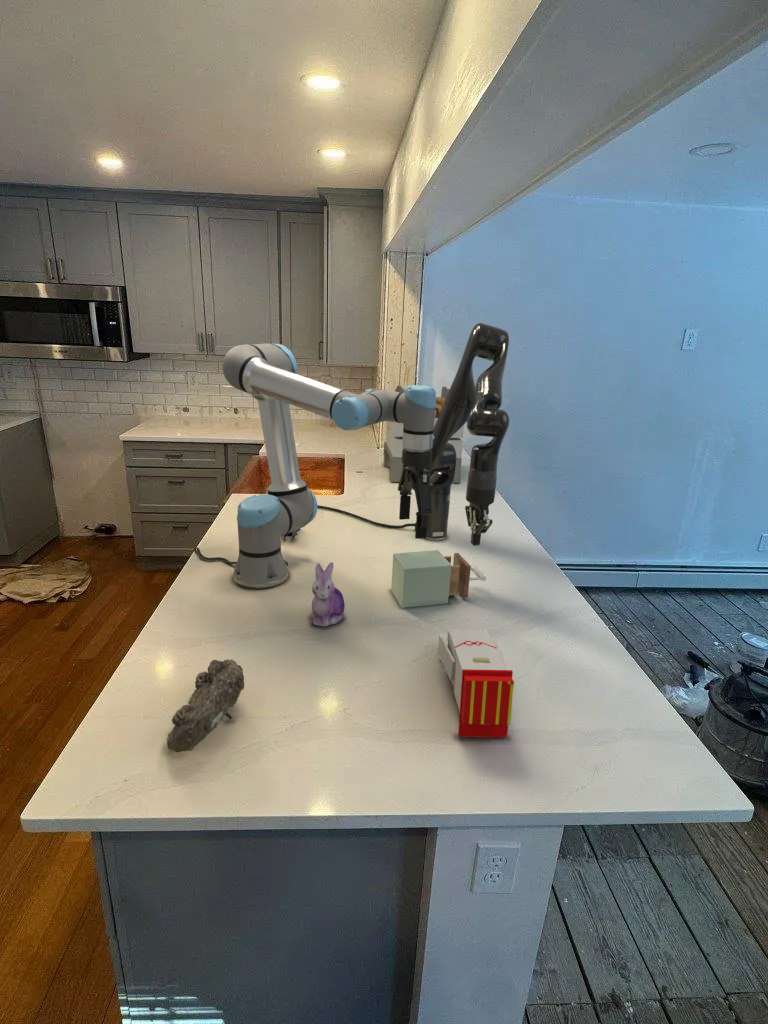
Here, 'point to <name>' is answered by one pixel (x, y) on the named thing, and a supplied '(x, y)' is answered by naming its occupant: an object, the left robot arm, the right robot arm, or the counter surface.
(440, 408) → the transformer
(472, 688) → the toy
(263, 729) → the counter surface
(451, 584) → the drawer
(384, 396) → the left robot arm
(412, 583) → the sage green cube
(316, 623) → the figurine
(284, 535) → the figurine character
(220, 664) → the fossil
